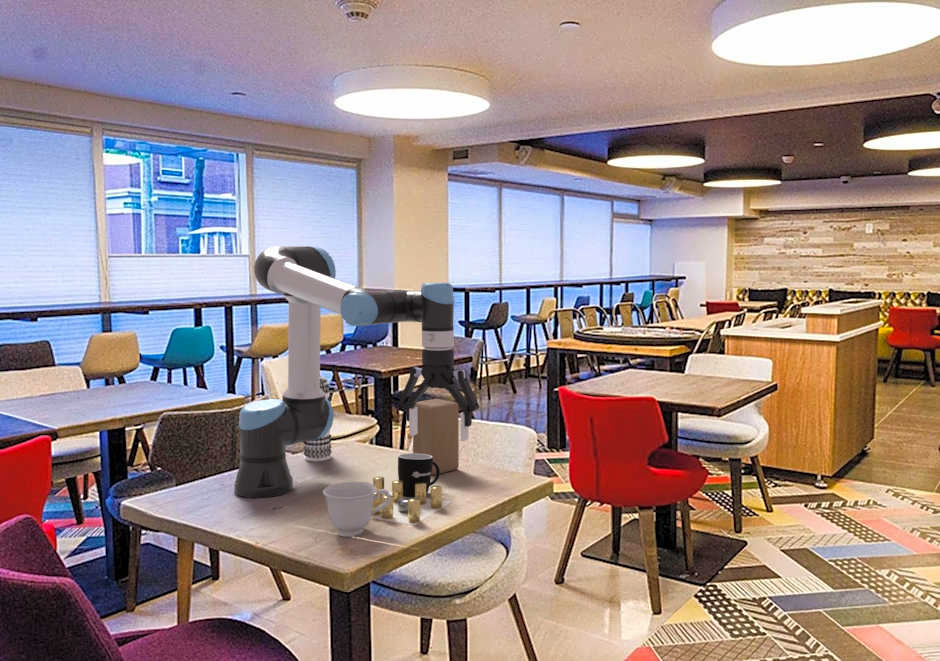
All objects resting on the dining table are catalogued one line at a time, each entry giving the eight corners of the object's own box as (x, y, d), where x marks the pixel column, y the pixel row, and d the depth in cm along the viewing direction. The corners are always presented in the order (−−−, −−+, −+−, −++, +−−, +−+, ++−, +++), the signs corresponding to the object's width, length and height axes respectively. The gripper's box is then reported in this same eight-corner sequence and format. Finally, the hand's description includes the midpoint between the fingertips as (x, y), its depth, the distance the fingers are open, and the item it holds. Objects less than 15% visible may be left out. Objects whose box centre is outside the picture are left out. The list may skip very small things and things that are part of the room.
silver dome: (394, 511, 184) (394, 501, 183) (404, 505, 188) (404, 496, 188) (412, 514, 182) (412, 504, 181) (422, 508, 186) (422, 498, 186)
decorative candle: (336, 454, 240) (334, 375, 238) (328, 461, 231) (326, 380, 228) (308, 453, 241) (306, 375, 238) (298, 461, 232) (296, 380, 229)
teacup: (389, 541, 166) (389, 496, 165) (320, 543, 164) (319, 498, 163) (391, 522, 178) (390, 480, 177) (326, 524, 176) (325, 482, 175)
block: (437, 463, 229) (437, 397, 227) (460, 469, 222) (459, 402, 220) (411, 469, 223) (411, 401, 221) (433, 476, 215) (433, 406, 213)
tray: (331, 512, 184) (331, 510, 184) (374, 491, 201) (374, 489, 201) (414, 526, 174) (414, 525, 174) (451, 503, 191) (451, 501, 191)
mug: (407, 500, 190) (409, 460, 190) (390, 493, 198) (391, 454, 198) (447, 496, 197) (449, 457, 197) (428, 489, 205) (430, 451, 205)
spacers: (343, 512, 184) (343, 491, 183) (378, 494, 197) (378, 475, 197) (415, 524, 175) (415, 503, 175) (445, 505, 189) (445, 485, 188)
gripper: (383, 347, 180) (385, 435, 182) (479, 352, 170) (480, 445, 172) (399, 344, 187) (400, 429, 189) (492, 348, 177) (493, 438, 179)
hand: (438, 437), depth 180 cm, fingers open, 13 cm apart
